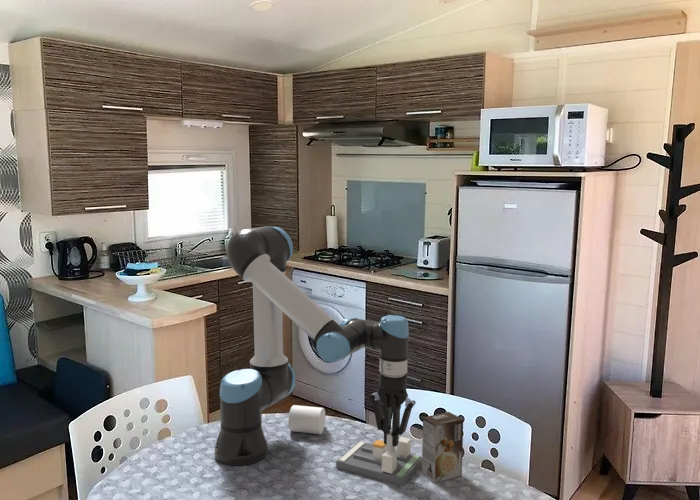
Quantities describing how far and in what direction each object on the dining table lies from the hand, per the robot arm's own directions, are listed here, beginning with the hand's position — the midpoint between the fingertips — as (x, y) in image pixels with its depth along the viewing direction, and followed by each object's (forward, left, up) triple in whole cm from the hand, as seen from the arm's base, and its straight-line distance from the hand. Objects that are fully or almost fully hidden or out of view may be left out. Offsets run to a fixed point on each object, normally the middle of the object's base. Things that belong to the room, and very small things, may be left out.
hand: (390, 455), depth 161 cm
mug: (-33, +11, -4) cm, 35 cm away
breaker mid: (-3, 0, -1) cm, 4 cm away
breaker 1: (+2, -5, -1) cm, 5 cm away
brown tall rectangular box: (+14, +4, -4) cm, 15 cm away
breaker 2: (+2, +5, -1) cm, 5 cm away
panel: (-3, 0, -4) cm, 5 cm away
